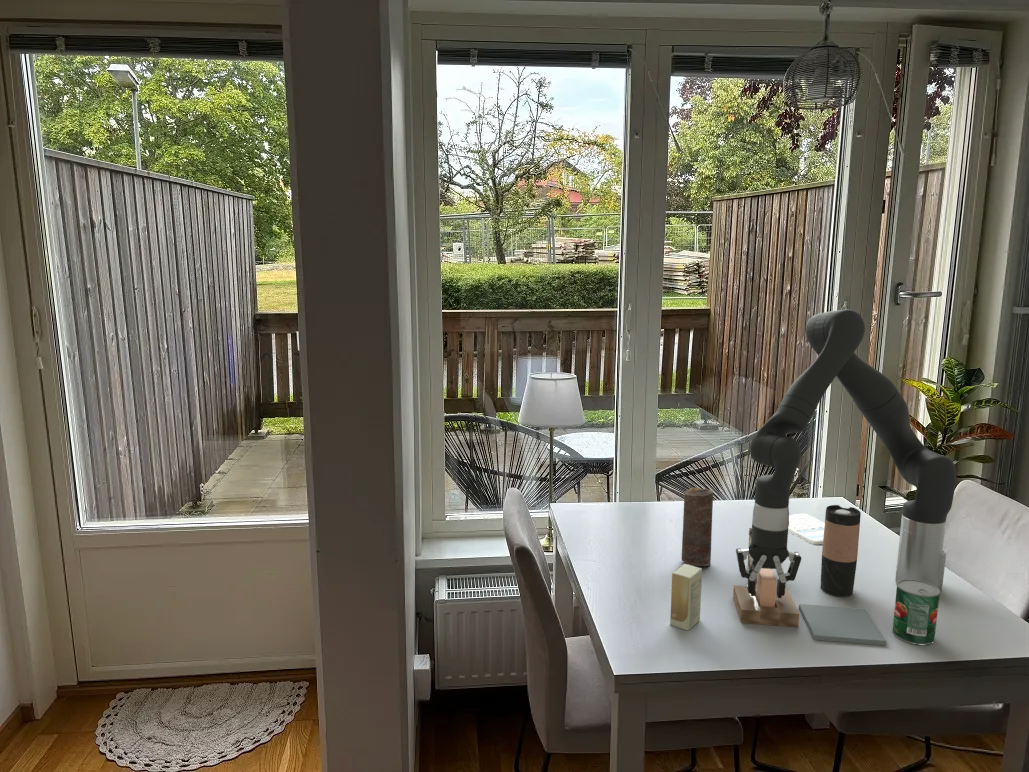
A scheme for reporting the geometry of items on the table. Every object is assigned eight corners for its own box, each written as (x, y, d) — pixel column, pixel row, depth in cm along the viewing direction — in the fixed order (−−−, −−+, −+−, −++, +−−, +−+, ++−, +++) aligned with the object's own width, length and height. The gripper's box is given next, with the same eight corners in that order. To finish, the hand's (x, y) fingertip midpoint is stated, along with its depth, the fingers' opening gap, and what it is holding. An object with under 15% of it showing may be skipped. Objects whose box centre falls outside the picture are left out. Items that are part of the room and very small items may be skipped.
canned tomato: (884, 627, 156) (889, 579, 154) (919, 625, 156) (924, 578, 155) (906, 646, 148) (911, 596, 146) (943, 645, 149) (949, 595, 147)
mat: (864, 612, 162) (864, 608, 162) (885, 645, 148) (886, 640, 148) (798, 608, 164) (799, 603, 164) (813, 639, 151) (814, 635, 150)
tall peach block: (768, 606, 165) (771, 568, 164) (773, 618, 159) (776, 580, 158) (755, 605, 166) (757, 568, 164) (759, 617, 160) (762, 579, 158)
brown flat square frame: (786, 601, 167) (787, 587, 167) (798, 627, 156) (799, 612, 155) (733, 597, 169) (733, 584, 169) (740, 622, 158) (741, 608, 157)
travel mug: (833, 599, 169) (840, 517, 165) (812, 585, 176) (818, 506, 172) (861, 595, 171) (868, 514, 167) (839, 581, 178) (845, 503, 174)
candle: (698, 572, 183) (701, 496, 179) (674, 563, 188) (678, 489, 185) (716, 564, 187) (720, 490, 184) (692, 555, 193) (696, 483, 190)
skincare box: (682, 614, 161) (684, 562, 159) (700, 620, 159) (703, 567, 156) (668, 625, 156) (671, 572, 154) (687, 631, 154) (689, 577, 152)
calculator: (804, 517, 223) (805, 511, 223) (853, 541, 204) (853, 535, 204) (768, 522, 219) (768, 516, 219) (814, 547, 200) (814, 540, 200)
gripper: (800, 519, 161) (795, 590, 164) (734, 515, 164) (730, 586, 167) (808, 531, 154) (803, 606, 157) (738, 527, 156) (734, 601, 159)
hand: (765, 595), depth 162 cm, fingers open, 5 cm apart
